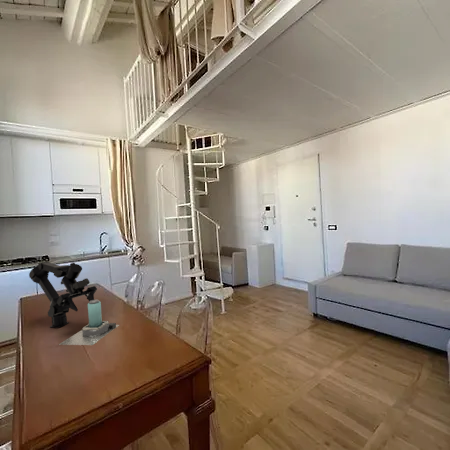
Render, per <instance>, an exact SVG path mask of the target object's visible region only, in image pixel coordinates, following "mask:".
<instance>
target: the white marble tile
mask: <svg viewBox="0 0 450 450" xmlns="http://www.w3.org/2000/svg"><path fill="white" fill-rule="evenodd" d="M119 326H120V324H116V322H109V320H102V325H101V326H100V327H98V328H89V323H88V324H87V325H85V326H83V327H82V329H81V330H80V331H78V332H77V333H74V334H73V335H71V336H70V337H68V338H66V339H65V340H63V341H62V342H59V344H58V346H61V345H62V346H94V345H95V344H96V343H98V342H99V341H100V340H101V339H104V337H105V336H107V335H108V334H109V333H111V332H112V331H114V330H115V329H116V328H118V327H119Z"/></svg>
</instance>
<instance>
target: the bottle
mask: <svg viewBox="0 0 450 450" xmlns="http://www.w3.org/2000/svg"><path fill="white" fill-rule="evenodd" d="M87 315H88V324H89V328H98V327H100V326H101V325H102V321H103V319H102V317H103V316H102V302H101V301H100V300H99V299H94V300H91V301H89V300H88V303H87Z"/></svg>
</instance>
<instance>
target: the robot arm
mask: <svg viewBox="0 0 450 450" xmlns="http://www.w3.org/2000/svg"><path fill="white" fill-rule="evenodd" d="M82 271H83V267H82V266H81V265H79V264H77V263H76V262H70V264H66V265H64V264H63V265H58V264H56V263H51V262H50V261H44V262H40V263H38V264H37V265H36V266H35V267H33V268H32V269H31V270H30V272H28V277H29V279H31V281H32V282H33V283H35V284H39V286H40V288H41V289H42V291H43V292H44V294H45V296H46V297H47V299H48V301H49V310H48V311H47V315H48V317H50V318H51V325H50V326H49V328H62V327H64V326H65V325H67V324H69V322H68V320H67V319H68V318H67V313H70V312H69V311H70V309H71V310H73V311H75V312H78V310H79V309H78V308H77V305H76V304H75V303H74V301H73V299H75V298H79V297H82V296H85V297H86V300H88V302H89V301H91V300H95V293H97V290H98V287H96V286H95V285H92V286H88V285H89V284H90V283H91V282H90V280H89V279H88V278H83V279H81V280H79V281H77V279H78V278H79V276H80V274H81V272H82ZM50 273H52V274H53V276H54V277H56V278H57V279H59V278H61V279H60V280H61V281H60V285H64V287H65V289H66V290H65V292H66V293H62V294H59V293H58V291H57V290H56V289H55V287H54V286H53V284H52V282H51V281H50V280H49V275H50ZM87 286H88V287H87ZM85 287H87V288H86V290H85Z"/></svg>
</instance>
